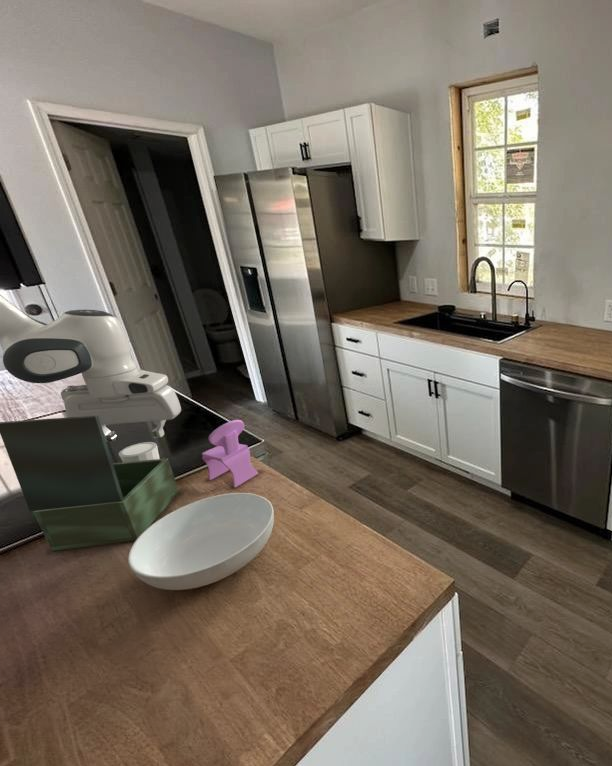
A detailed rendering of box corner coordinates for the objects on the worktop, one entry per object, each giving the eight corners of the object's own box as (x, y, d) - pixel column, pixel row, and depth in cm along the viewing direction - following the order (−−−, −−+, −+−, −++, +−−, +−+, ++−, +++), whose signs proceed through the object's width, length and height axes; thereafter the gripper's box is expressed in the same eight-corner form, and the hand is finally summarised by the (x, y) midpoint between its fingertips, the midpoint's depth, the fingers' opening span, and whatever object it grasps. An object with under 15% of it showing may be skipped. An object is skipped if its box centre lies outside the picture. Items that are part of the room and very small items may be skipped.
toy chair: (235, 464, 104) (222, 410, 98) (262, 471, 101) (249, 416, 96) (203, 482, 96) (186, 425, 91) (230, 490, 94) (215, 432, 88)
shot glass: (164, 463, 103) (156, 438, 101) (165, 475, 98) (156, 450, 96) (128, 472, 99) (118, 447, 97) (127, 486, 94) (117, 459, 92)
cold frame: (107, 499, 90) (93, 464, 87) (179, 491, 93) (168, 458, 90) (51, 551, 76) (32, 512, 73) (138, 540, 79) (123, 502, 76)
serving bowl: (140, 552, 76) (128, 522, 73) (267, 507, 89) (260, 480, 86) (140, 633, 61) (125, 599, 59) (292, 565, 74) (285, 535, 71)
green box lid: (0, 421, 68) (-4, 423, 67) (98, 415, 71) (95, 417, 70) (33, 508, 73) (29, 511, 72) (123, 499, 76) (121, 501, 75)
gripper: (46, 392, 85) (71, 450, 90) (160, 385, 89) (178, 440, 95) (69, 381, 91) (92, 436, 96) (175, 375, 95) (191, 427, 100)
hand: (135, 438), depth 95 cm, fingers open, 8 cm apart
